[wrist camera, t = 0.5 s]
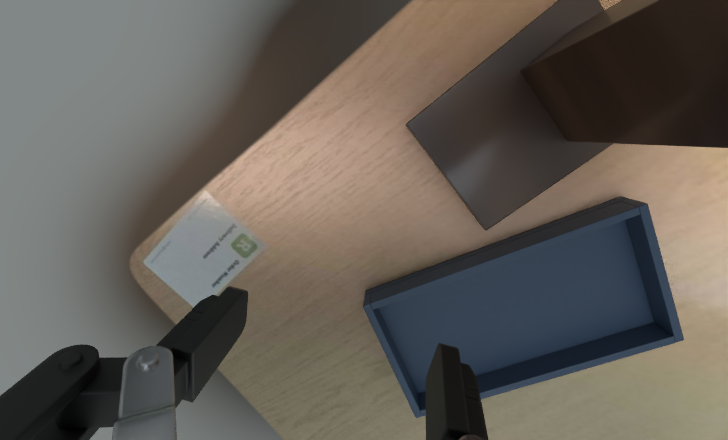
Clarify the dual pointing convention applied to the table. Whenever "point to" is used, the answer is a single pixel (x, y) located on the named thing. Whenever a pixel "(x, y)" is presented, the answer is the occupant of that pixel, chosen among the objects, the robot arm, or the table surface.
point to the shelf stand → (579, 97)
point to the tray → (532, 303)
